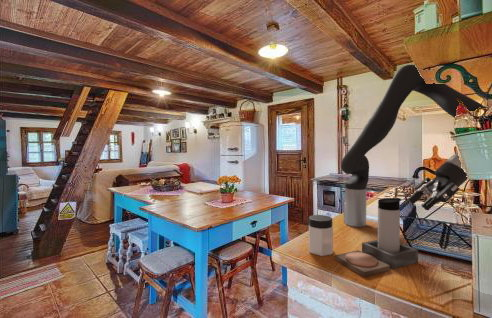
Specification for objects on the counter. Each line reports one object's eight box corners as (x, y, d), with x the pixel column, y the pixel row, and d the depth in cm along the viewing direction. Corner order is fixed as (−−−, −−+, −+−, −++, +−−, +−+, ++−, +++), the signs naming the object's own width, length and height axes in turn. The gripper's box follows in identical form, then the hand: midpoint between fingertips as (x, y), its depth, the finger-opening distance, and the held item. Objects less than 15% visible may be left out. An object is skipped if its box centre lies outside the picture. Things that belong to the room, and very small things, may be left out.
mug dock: (334, 259, 82) (334, 247, 81) (385, 248, 90) (385, 237, 89) (364, 277, 70) (364, 263, 70) (418, 262, 78) (419, 250, 78)
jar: (323, 245, 94) (323, 213, 93) (338, 253, 86) (338, 219, 86) (303, 248, 91) (303, 216, 90) (316, 257, 83) (316, 222, 83)
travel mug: (403, 263, 78) (404, 200, 77) (381, 261, 80) (381, 199, 79) (396, 254, 84) (396, 196, 83) (375, 253, 86) (375, 196, 85)
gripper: (434, 159, 85) (397, 192, 87) (464, 162, 71) (419, 201, 73) (451, 175, 84) (414, 207, 87) (484, 180, 70) (439, 219, 73)
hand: (416, 204), depth 80 cm, fingers open, 8 cm apart
